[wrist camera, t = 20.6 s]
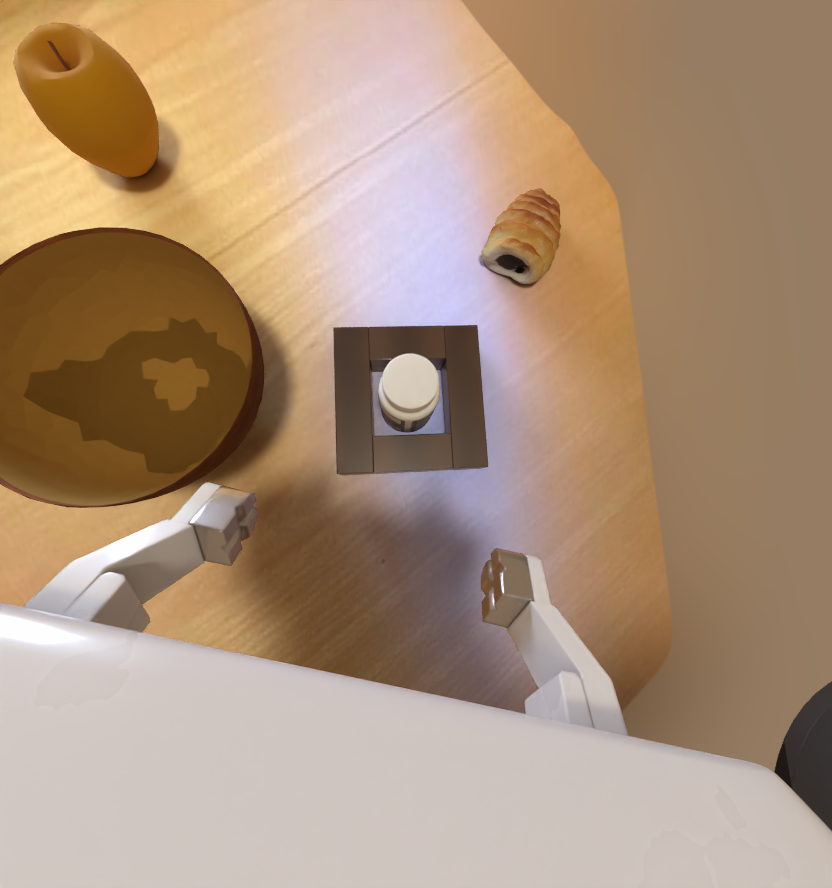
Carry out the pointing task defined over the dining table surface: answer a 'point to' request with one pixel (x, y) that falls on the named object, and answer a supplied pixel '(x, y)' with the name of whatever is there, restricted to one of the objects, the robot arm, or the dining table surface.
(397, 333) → the dock
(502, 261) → the pastry
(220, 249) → the dining table surface
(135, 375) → the bowl
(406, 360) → the pill bottle
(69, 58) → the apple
